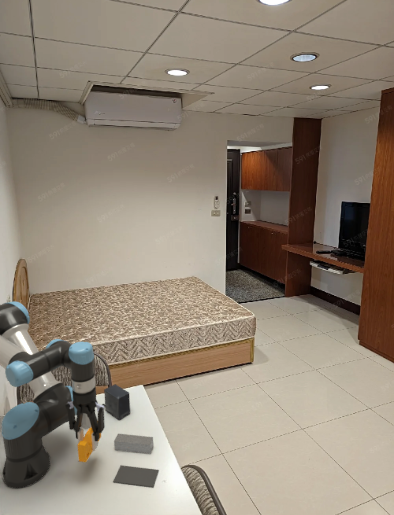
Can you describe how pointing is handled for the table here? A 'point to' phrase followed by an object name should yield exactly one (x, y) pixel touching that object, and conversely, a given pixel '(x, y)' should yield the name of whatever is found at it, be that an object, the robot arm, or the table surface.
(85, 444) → the pipe clamp
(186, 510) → the table surface
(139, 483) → the pad
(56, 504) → the table surface
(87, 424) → the cup
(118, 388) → the small box
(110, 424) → the table surface
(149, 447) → the grey rectangular bar
